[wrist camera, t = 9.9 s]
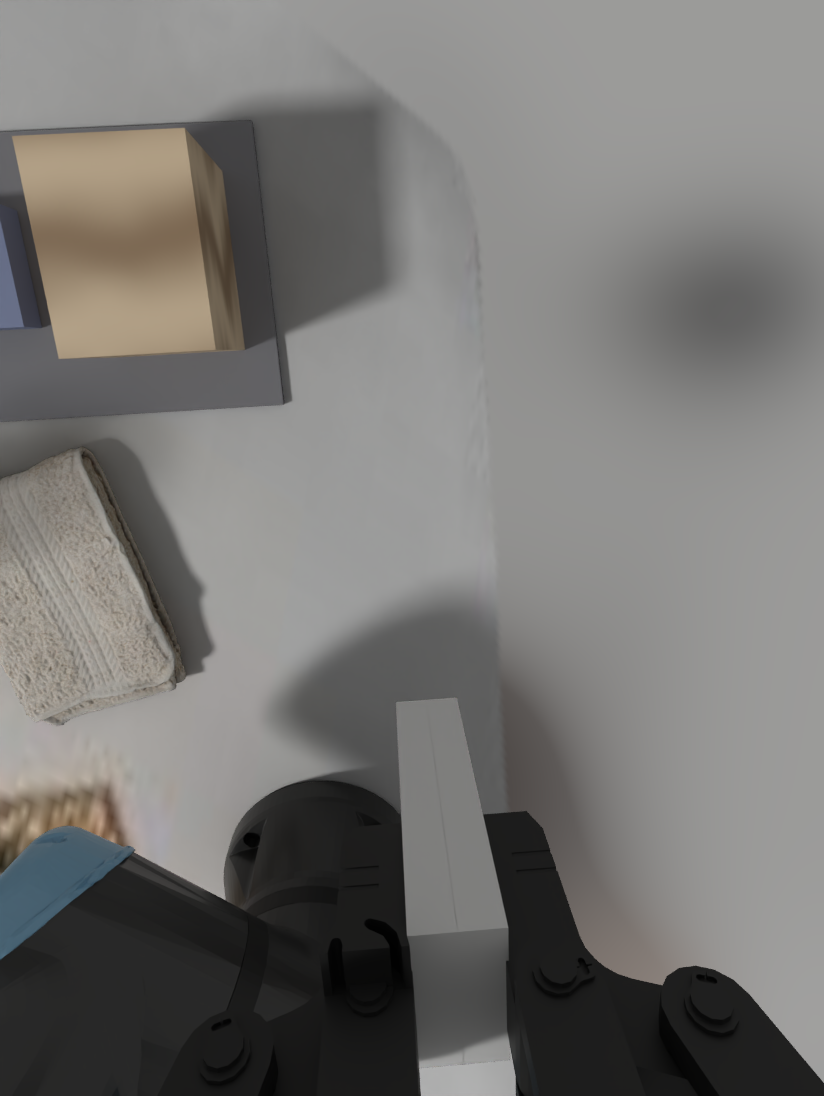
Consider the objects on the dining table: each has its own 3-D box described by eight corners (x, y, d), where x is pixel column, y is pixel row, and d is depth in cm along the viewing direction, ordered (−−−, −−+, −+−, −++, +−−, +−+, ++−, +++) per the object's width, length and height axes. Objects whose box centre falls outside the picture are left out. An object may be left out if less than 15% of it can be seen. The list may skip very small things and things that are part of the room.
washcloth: (53, 717, 48) (31, 741, 45) (-71, 495, 43) (-105, 506, 40) (201, 671, 48) (189, 692, 45) (94, 441, 42) (72, 447, 39)
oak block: (246, 350, 41) (215, 349, 33) (119, 357, 40) (58, 358, 33) (223, 172, 38) (184, 127, 30) (86, 179, 38) (11, 136, 30)
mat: (284, 404, 42) (283, 404, 41) (-91, 426, 41) (-96, 427, 41) (252, 122, 37) (251, 120, 37) (-172, 142, 36) (-178, 140, 36)
